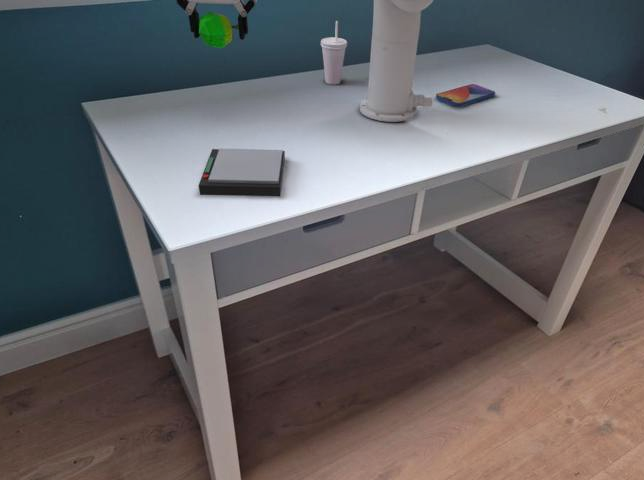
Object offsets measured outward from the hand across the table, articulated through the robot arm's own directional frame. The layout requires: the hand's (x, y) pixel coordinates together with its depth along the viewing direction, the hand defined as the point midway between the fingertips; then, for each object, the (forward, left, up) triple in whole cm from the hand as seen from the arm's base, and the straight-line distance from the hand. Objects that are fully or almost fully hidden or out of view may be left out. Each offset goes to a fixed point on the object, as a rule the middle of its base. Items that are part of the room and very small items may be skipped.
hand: (220, 36), depth 96 cm
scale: (-7, +26, -16) cm, 31 cm away
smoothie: (-23, -23, -16) cm, 36 cm away
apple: (0, 0, -2) cm, 2 cm away
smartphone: (-55, -15, -16) cm, 59 cm away
